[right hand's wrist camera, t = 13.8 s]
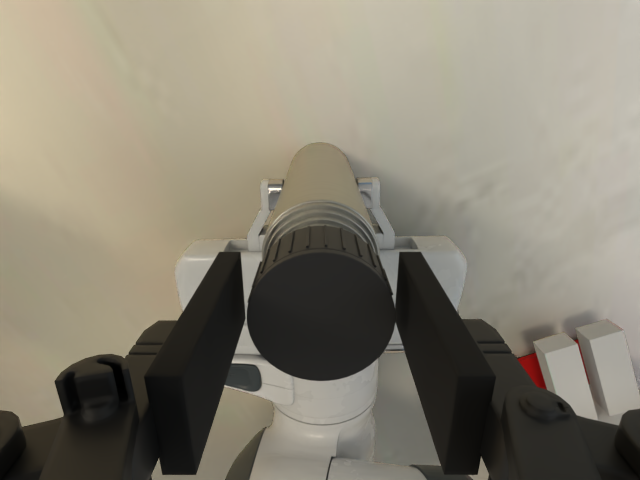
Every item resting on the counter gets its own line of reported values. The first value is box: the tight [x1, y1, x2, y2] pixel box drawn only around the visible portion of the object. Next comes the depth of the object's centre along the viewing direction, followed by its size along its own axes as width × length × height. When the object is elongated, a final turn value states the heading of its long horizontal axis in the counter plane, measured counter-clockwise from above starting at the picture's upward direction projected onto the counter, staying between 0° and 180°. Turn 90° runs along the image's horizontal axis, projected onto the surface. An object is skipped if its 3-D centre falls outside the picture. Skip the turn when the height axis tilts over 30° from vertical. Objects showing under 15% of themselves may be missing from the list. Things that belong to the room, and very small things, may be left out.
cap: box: [247, 225, 396, 381], centre depth 14 cm, size 5×5×2 cm
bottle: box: [262, 143, 380, 261], centre depth 23 cm, size 5×5×22 cm
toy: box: [517, 319, 640, 425], centre depth 38 cm, size 12×13×30 cm
